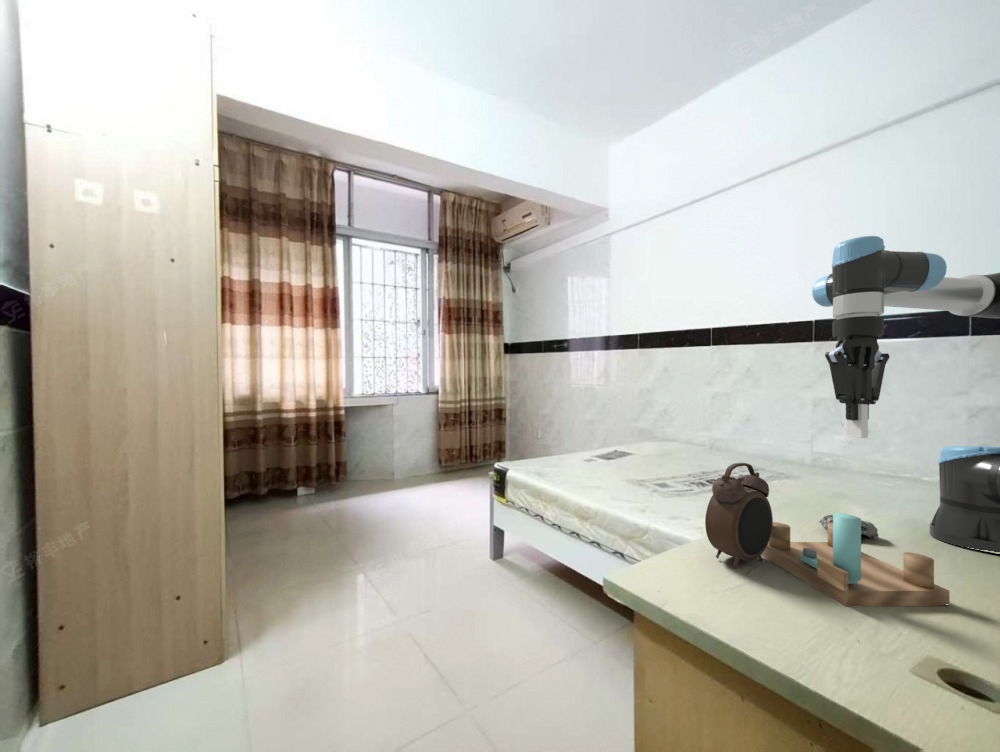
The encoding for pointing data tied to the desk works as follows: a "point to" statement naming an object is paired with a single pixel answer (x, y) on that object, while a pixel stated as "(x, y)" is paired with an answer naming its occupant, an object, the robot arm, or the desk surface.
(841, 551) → the hinged leg
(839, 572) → the stool seat
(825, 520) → the fossilized seashell
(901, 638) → the desk surface
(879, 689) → the desk surface
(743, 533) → the alarm clock
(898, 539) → the desk surface
